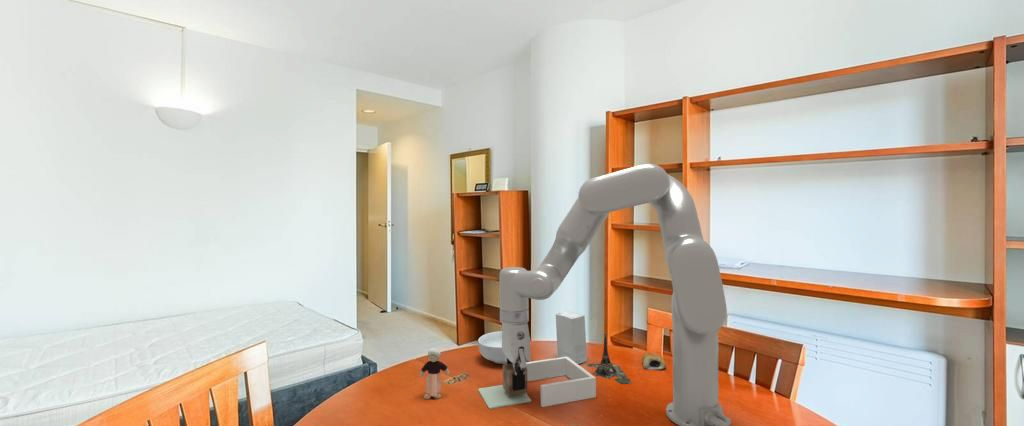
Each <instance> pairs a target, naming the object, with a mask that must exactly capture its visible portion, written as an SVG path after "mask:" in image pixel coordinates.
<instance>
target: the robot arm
mask: <svg viewBox="0 0 1024 426" xmlns="http://www.w3.org/2000/svg"><path fill="white" fill-rule="evenodd" d="M645 204H649V205H651V206H652V208H653V209H654V210H655V212H656V215H657V216H656V217H657V219H658V225H659V227H660V233H661V237H662V239H661V240H662V244H663V252H664V261H665V264H666V265H667V268H668V271H669V275H670V280H671V285H672V291H673V292H672V294H671V299H670V300H671V301H670V302H671V303H670V304H671V305H670V306H671V307H670V308H671V322H672V325H671V326H672V396H673V397H672V402H669V403H668V404H667V405H666V408H665V411H666V416H667V417H668V419H669V420H670V421H672V423H675V424H676V425H678V426H730V425H731V423H732V419H731V418H729V417H728V416H726V415H725V413H723V405H721V404H719V330H720V329H721V328H722V327H723V326H724V324H725V322H726V319H727V314H728V308H727V302H726V297H725V291H724V290H725V289H724V285H723V281H722V274H721V269H720V266H719V265H720V264H719V262H718V258H717V256H716V252H715V251H714V249H713V247H712V246H711V245H710V244H709V243H708V242H707V241H706V240H705V239H704V237H703V233H702V228H701V224H700V220H699V215H698V211H697V208H696V204H695V202H694V199H693V197H692V194H691V193H690V191H689V190H688V189H687V188H686V186H685V185H684V184H683V183H682V182H681V181H679V180H678V179H677V178H675V177H673V176H672V175H670V174H668V173H667V172H666V170H665V169H664V168H663V167H662V166H660V165H657V164H656V163H655V164H654V163H642V164H639V165H636V166H632V167H628V168H624V169H621V170H617V171H614V172H610V173H605V174H602V175H599V176H595V177H591V178H590V179H587V180H586V181H584V183H583V184H582V185H581V186H580V187H579V191H578V196H577V199H576V200H575V202H574V203H573V205H572V207H571V208H570V209H569V211H568V213H567V214H566V215H565V217H564V219H563V220H562V221H561V223H560V224H559V226H558V228H557V231H556V235H555V239H554V242H553V244H552V245H551V248H550V250H549V251H548V252H547V254H546V256H545V257H544V259H543V260H542V262H541V263H540V264H539V266H538V267H537V268H535V269H532V270H527V269H526V268H524V267H521V266H520V267H519V266H511V267H509V266H508V267H504V268H502V269H501V270H500V271H499V322H500V323H502V324H501V331H502V351H503V353H504V355H505V364H512V363H513V372H514V374H512V389H513V391H517V390H523V389H525V369H526V368H527V364H526V362H531V359H532V358H531V337H530V331H529V324H528V322H529V321H530V318H529V317H530V315H529V314H530V313H529V307H530V306H529V299H533V300H537V301H543V300H547V299H549V298H550V297H551V296H552V295H554V294H555V292H556V291H557V290H558V289H559V287H560V286H561V284H562V283H563V282H564V280H565V278H566V277H567V276H568V274H569V273H570V270H571V269H572V268H573V267H574V264H575V263H576V262H577V260H578V259H579V257H580V256H581V255H582V254H583V253H584V252H585V251H586V249H588V246H589V245H590V243H591V242H592V241H593V239H594V237H595V236H596V235H597V233H598V231H599V230H600V228H601V227H602V225H603V224H604V222H605V221H606V220H607V218H608V216H609V215H610V214H611V213H612V212H617V211H620V210H624V209H629V208H633V207H636V206H641V205H645ZM529 337H530V338H529ZM517 359H518V360H517ZM516 360H517V361H516ZM505 364H504V365H505ZM518 364H520V366H519V367H518V368H516V365H518Z"/></svg>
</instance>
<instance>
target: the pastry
mask: <svg viewBox="0 0 1024 426" xmlns="http://www.w3.org/2000/svg"><path fill="white" fill-rule="evenodd" d="M641 362H642V366H643V368H644V369H645V370H648V371H657V370H658V371H662V370H664V369H665V368H666V366H667V364H666V361H665V359H664V358H663V357H662V355H659V354H656V353H652V352H647V353H644V354H643V356H642V358H641Z"/></svg>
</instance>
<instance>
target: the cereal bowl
mask: <svg viewBox="0 0 1024 426" xmlns="http://www.w3.org/2000/svg"><path fill="white" fill-rule="evenodd" d="M529 338H530V339H531V336H529ZM477 340H478V341H477V344H478V345H477V346H478V350H479V352H480V354H481V355H482V357H483V358H484V359H486V360H488V361H491V362H493V363H495V364H498V365H505V355H504V353H503V351H502V330H500V331H493V332H488V333H485V334H483V335H481V336H480V337H479V338H478V339H477ZM518 361H519V359H517V360H516V362H518Z"/></svg>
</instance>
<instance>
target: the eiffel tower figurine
mask: <svg viewBox="0 0 1024 426" xmlns="http://www.w3.org/2000/svg"><path fill="white" fill-rule="evenodd" d="M604 330H605V332H604V333H603V336H604V339H603V350H602V351H603V352H602V357H601V361H600V362H599V363H586V366H587V368H589V367H592V368H596V369H595V371H594V372H592V375H595V376H594V377H602V378H604V379H608V380H610V379H612V378H614V377H616V378H614V379H613V380H614V381H615V383H619V384H620V385H627V384H632V381H631V380H630V378H628V376H627V374H626V373H625V372H624V371H623V369H622V368H621V367H620V366H619V365H617V364H614V363H613V362H611V359H610V357H609V356H610V355H609V351H608V339H607V335H608V334H607V333H606V329H604Z"/></svg>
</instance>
